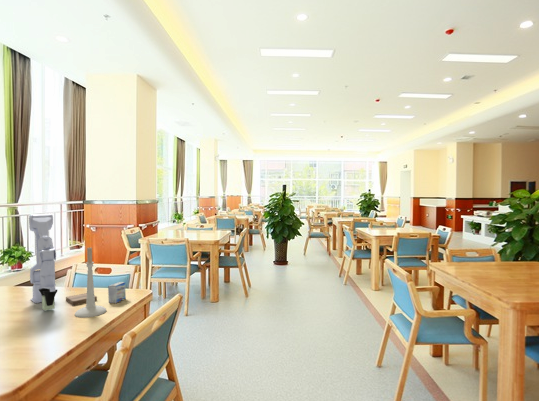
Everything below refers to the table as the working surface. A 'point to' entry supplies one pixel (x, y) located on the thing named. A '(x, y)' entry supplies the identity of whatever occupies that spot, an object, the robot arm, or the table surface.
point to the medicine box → (116, 292)
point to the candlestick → (90, 293)
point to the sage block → (44, 305)
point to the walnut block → (78, 299)
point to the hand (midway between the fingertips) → (48, 304)
